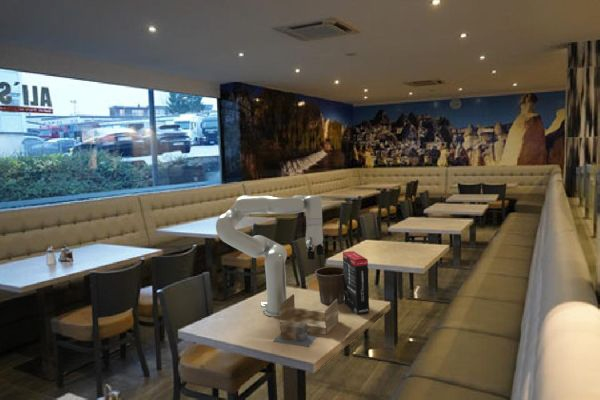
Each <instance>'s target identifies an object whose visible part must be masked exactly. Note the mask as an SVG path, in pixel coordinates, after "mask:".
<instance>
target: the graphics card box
mask: <svg viewBox="0 0 600 400" xmlns="http://www.w3.org/2000/svg"><path fill="white" fill-rule="evenodd" d="M368 264H369V261H368V259H367V258H366V257H364V256H362V255H361V254H359V253H357V252H356V251H353V250H352V251H350V250H349V251H342V268H343V273H344V305H346V306H347V307H348V308H349V309H350V310H351V311H352V312H353V313H354V314H355V315H357V316H358V315H359V316H360V315H367V314H370V299H369V298H370V294H369V290H370V289H369V265H368Z"/></svg>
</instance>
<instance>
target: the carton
mask: <svg viewBox="0 0 600 400" xmlns="http://www.w3.org/2000/svg"><path fill="white" fill-rule="evenodd" d="M295 304H296V303H295V294H292V295H290V296H289V297H287V299H286V300H285V301H284V302H282V303H281V304H280V305H279V311H280V316H279V320H278V323H279V326H280V325H281V324H282V323H283V322H284V321H291V322H298V323H306V324H307V333H312V334H313V333H314V334H321V335H328V334H329V333H330V332H331V330H333V328H334V327H335V326H337V324H338V322H339V314H340V312H339V304H338V299H336V300H335V301H334V302H333V303H332V304H331V305H328V307H327V308H326V309H325V310H318V309H312V308H311V309H310V308H302V307H296V305H295Z"/></svg>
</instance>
